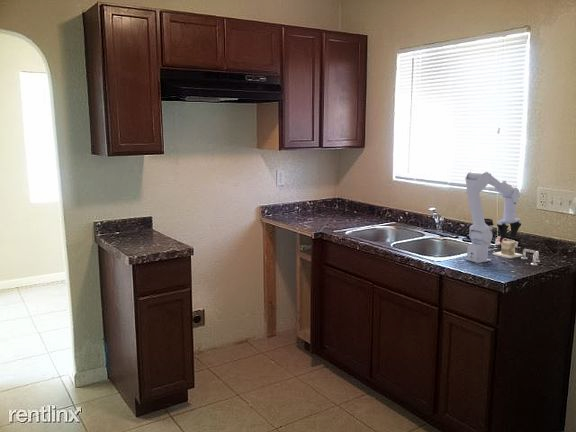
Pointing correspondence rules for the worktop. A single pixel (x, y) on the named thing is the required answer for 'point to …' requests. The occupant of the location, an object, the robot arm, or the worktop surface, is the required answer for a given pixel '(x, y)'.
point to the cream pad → (507, 255)
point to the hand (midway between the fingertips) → (508, 237)
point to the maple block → (508, 248)
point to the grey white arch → (535, 256)
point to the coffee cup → (490, 224)
